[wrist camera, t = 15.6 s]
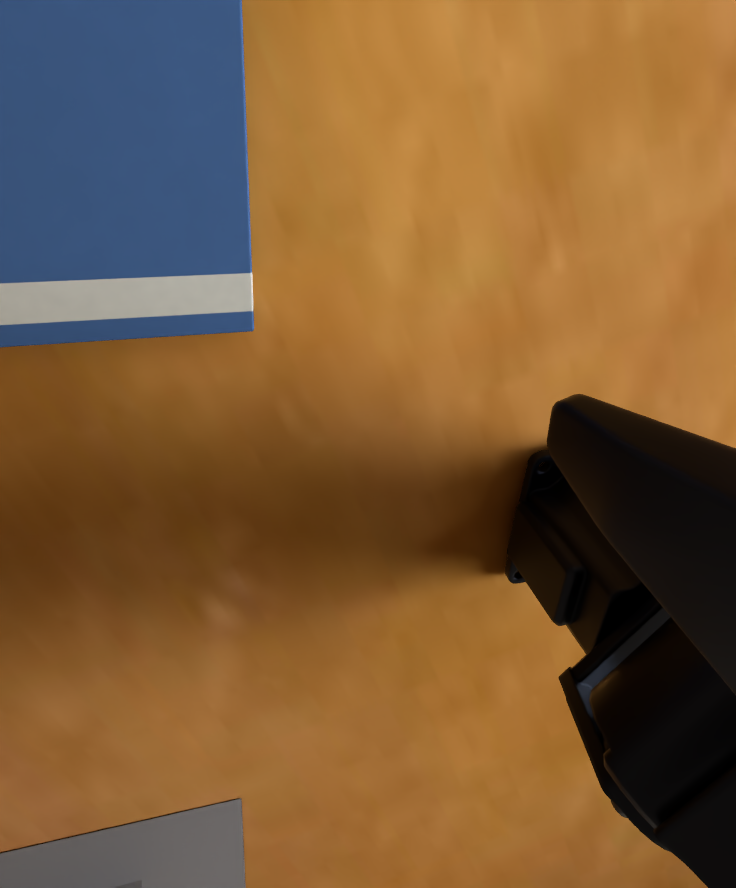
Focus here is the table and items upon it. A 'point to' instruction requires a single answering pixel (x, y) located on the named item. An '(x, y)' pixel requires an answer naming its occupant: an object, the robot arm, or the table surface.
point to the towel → (123, 171)
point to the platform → (139, 855)
